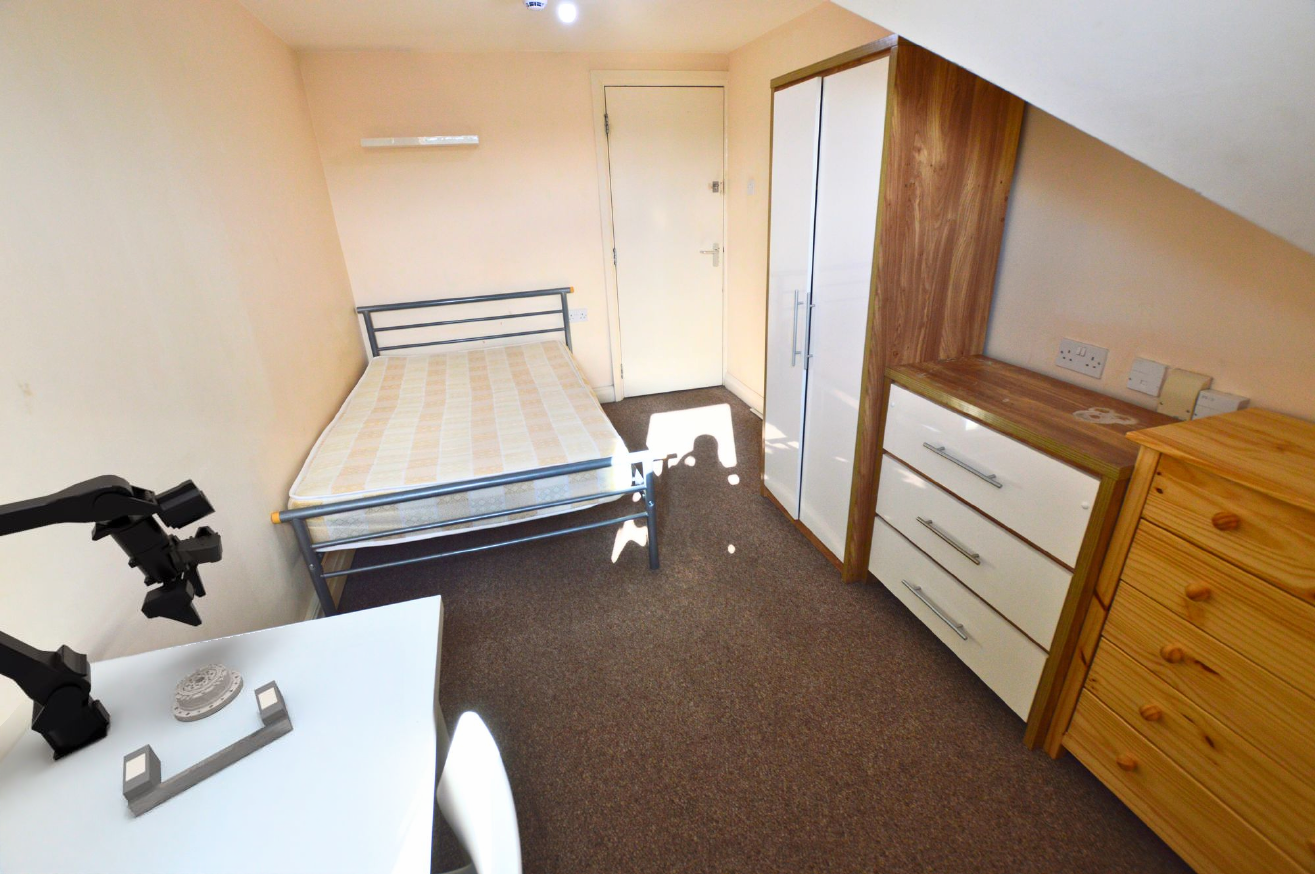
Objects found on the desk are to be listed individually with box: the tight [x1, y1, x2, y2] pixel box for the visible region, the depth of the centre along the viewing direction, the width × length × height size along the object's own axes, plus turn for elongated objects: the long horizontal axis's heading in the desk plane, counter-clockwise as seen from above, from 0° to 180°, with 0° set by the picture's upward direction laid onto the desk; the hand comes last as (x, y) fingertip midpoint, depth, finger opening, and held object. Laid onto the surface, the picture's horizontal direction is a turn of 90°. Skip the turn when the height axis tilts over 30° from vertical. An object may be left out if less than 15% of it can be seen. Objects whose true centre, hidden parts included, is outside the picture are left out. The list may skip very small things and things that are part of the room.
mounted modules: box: [122, 679, 292, 802], centre depth 89 cm, size 20×8×4 cm, turn 130°
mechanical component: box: [171, 663, 244, 722], centre depth 99 cm, size 10×4×10 cm
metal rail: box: [127, 715, 294, 818], centre depth 86 cm, size 20×1×2 cm, turn 131°
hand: (201, 609), depth 102 cm, fingers open, 9 cm apart
